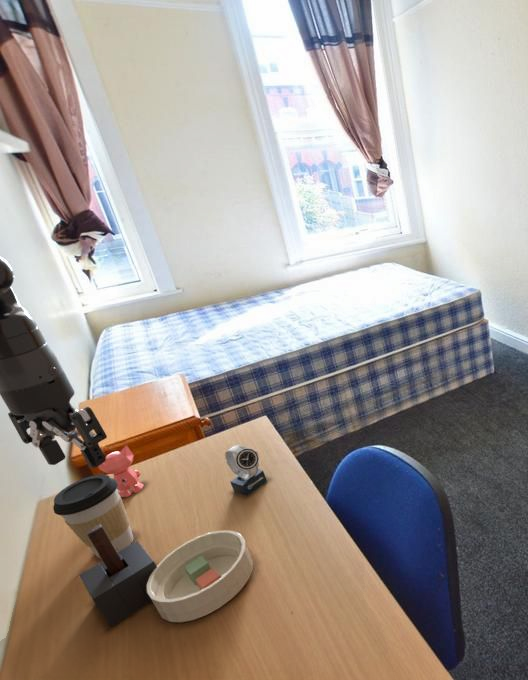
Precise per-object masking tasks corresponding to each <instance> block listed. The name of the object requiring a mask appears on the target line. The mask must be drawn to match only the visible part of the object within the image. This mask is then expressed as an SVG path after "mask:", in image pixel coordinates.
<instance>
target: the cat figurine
mask: <svg viewBox="0 0 528 680" xmlns="http://www.w3.org/2000/svg"><path fill="white" fill-rule="evenodd" d="M105 458H106V460H105V462H104V463H102V464H101V465H99V466H98V470H99V471H100V472H101V473H105V474H107V475H108V474H109V475H113V479H114V480H116V481H117V483H118V487H117V491H118V494H119V495H120V496H121V498H128V497H129V496H131V494H132V492H134V493H138V492H140V491H141V490H143V487H144V486H145V484H143V483H141V482H140V479H139V478H140V476H141V472H140V471H139V470H137V469H135V470H132V469H131V468H130V467H131V465H132V463H133V461H134V453H133V452H132V451H131V449H130V448H129V446H128V445H127V444H126V445H124V447H123V448H122V449H121V450H120V451H112V452H110V453H109V454H107V455H106V456H105ZM132 488H133V491H132V492H131V491H129V490H130V489H132Z"/></svg>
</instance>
